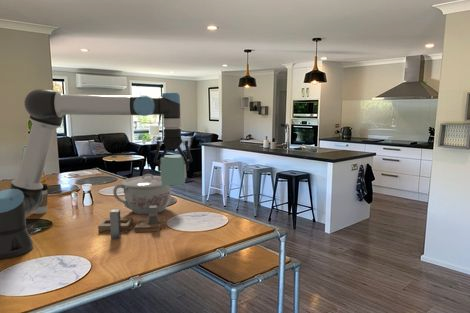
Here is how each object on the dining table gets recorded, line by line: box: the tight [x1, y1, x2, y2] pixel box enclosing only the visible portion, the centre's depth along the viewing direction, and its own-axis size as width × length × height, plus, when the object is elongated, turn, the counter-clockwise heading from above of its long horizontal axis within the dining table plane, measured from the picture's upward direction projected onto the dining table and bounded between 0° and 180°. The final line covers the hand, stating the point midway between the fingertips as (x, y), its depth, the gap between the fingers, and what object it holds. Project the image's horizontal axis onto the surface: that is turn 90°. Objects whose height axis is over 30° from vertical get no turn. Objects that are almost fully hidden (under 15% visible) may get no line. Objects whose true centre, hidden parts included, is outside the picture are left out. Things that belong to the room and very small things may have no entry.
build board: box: [97, 217, 134, 233], centre depth 157 cm, size 11×13×3 cm
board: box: [134, 206, 164, 233], centre depth 157 cm, size 11×11×10 cm
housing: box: [160, 154, 186, 187], centre depth 150 cm, size 10×10×12 cm
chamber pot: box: [112, 173, 172, 216], centre depth 182 cm, size 28×28×21 cm
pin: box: [109, 208, 122, 240], centre depth 144 cm, size 3×3×12 cm
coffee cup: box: [33, 183, 49, 215], centre depth 179 cm, size 8×8×15 cm
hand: (173, 178), depth 151 cm, fingers closed on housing, 10 cm apart
